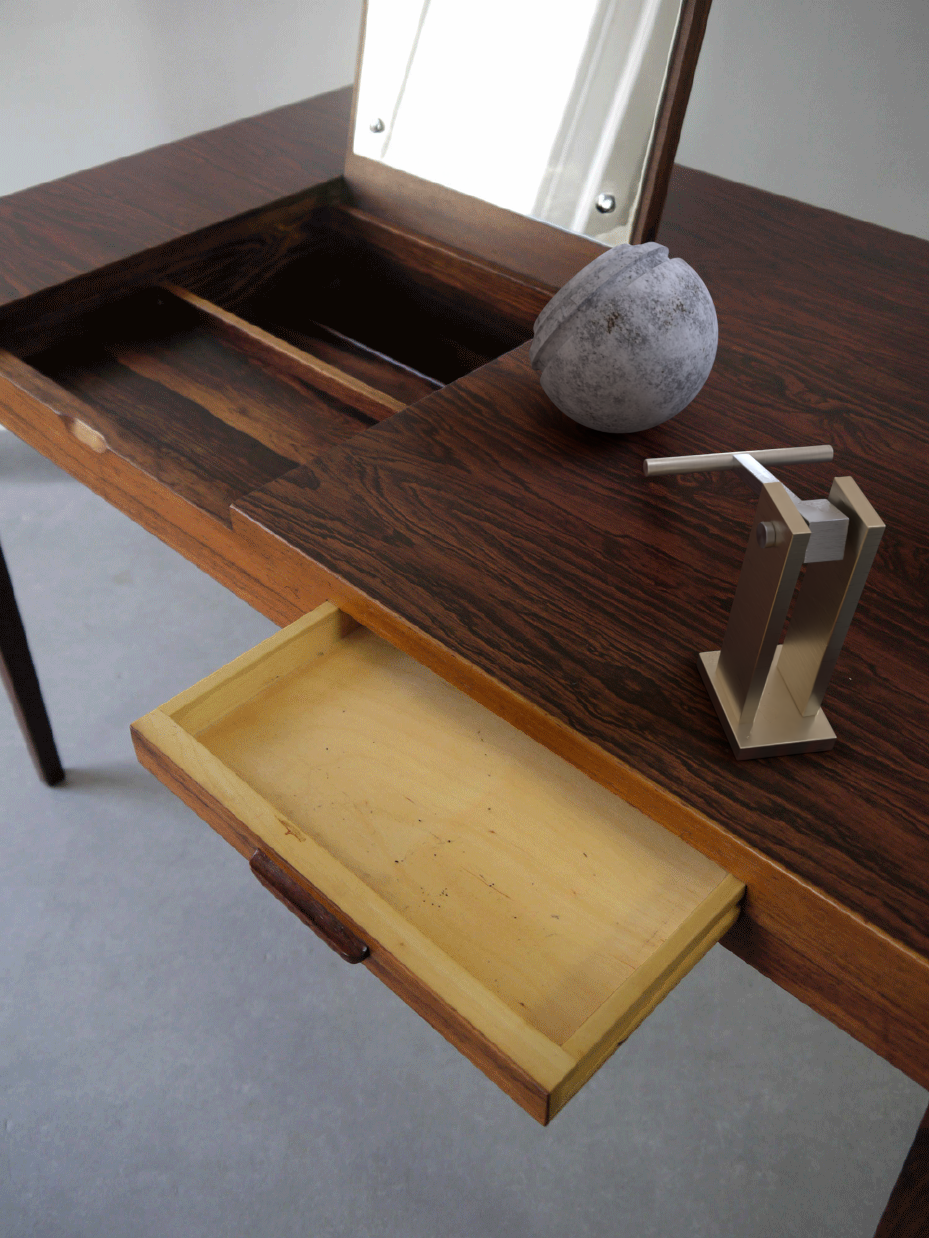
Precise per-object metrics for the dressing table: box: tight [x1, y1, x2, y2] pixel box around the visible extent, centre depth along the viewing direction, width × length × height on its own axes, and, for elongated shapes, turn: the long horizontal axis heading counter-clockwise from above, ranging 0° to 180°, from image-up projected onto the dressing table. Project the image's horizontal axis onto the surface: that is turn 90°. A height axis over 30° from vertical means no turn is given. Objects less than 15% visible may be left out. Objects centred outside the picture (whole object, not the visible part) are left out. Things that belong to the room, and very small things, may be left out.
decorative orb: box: [528, 241, 719, 434], centre depth 84 cm, size 15×14×15 cm
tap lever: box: [642, 444, 849, 564], centre depth 61 cm, size 13×12×2 cm
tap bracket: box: [695, 475, 886, 762], centre depth 60 cm, size 8×6×16 cm
